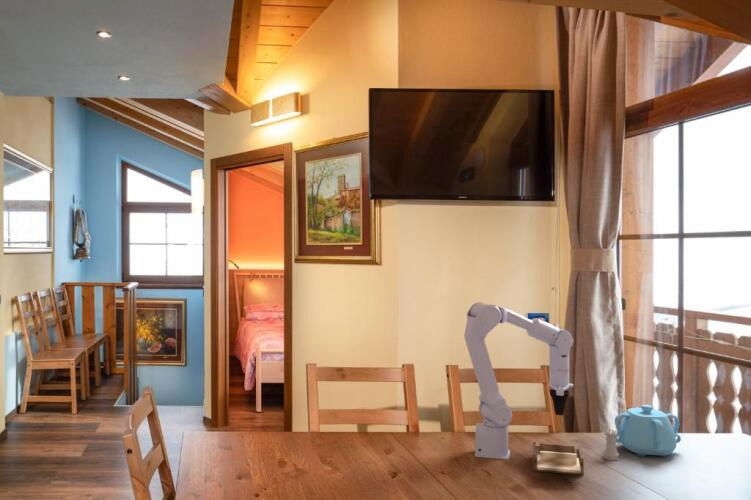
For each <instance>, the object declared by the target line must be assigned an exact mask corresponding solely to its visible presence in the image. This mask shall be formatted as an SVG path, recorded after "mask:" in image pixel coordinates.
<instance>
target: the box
mask: <svg viewBox="0 0 751 500" xmlns="http://www.w3.org/2000/svg"><path fill="white" fill-rule="evenodd" d="M540 451H550V452H562V453H574V454H576V455H577V458H579V463H580V468H581V473H574V472H563V471H551V470H540V469H537V455H540ZM584 461H585V459H584V454H583V449H582V445H577V448H575V444H573V445H572V444H563V443H562V444H561V443H551V442H548V443H547V442H539V445H537V443H536V442H534V441H533V442H532V471H533V472H543V473H552V474H553V473H554V474H555V473H557V474H566V475H567V474H568V475H575V476H576V475H579V476H584V475H585V473H584V472H585V470H584V469H585V467H584V466H585V465H584Z"/></svg>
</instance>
